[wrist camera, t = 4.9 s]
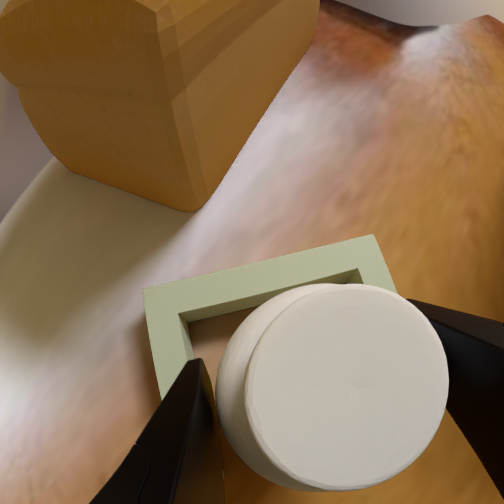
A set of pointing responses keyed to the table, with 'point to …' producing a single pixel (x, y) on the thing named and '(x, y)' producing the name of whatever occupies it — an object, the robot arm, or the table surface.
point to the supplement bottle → (332, 387)
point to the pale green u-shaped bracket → (249, 294)
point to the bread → (152, 84)
